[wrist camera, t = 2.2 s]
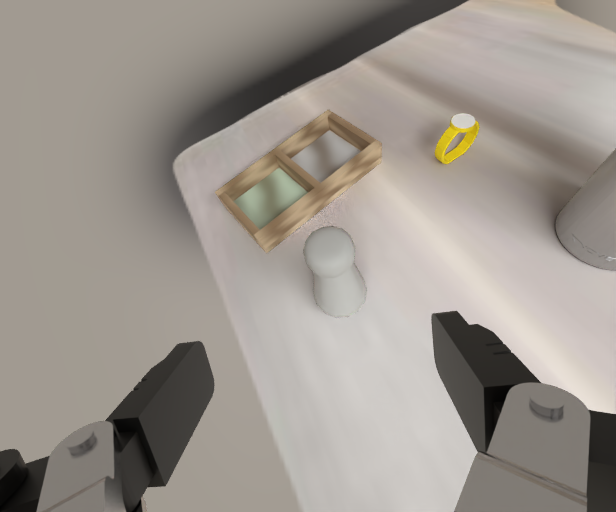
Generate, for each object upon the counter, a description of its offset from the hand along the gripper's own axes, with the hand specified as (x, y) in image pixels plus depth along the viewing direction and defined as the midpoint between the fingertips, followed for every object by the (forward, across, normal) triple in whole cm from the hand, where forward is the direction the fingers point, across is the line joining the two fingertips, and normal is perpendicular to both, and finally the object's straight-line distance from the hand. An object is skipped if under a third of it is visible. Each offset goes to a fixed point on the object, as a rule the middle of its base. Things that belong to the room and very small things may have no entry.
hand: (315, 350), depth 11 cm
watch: (+37, -18, -4) cm, 42 cm away
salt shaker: (+24, 0, +9) cm, 26 cm away
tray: (+37, +3, -4) cm, 37 cm away
